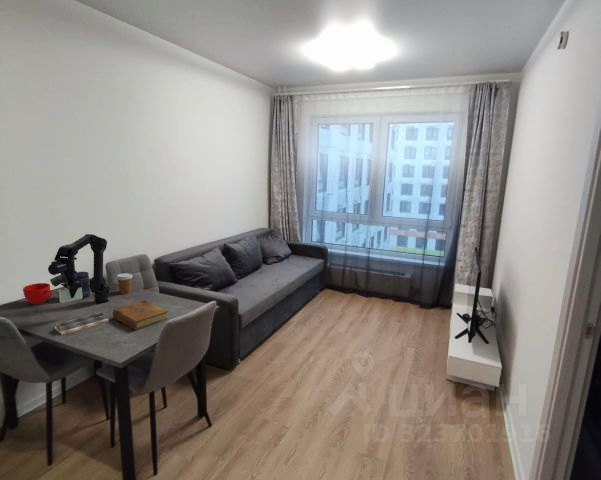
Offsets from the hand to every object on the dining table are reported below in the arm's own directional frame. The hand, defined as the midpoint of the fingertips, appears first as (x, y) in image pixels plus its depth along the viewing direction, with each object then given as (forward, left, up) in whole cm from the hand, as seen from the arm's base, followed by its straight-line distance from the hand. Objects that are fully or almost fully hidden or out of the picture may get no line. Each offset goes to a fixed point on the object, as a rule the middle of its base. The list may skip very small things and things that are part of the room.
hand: (71, 297), depth 191 cm
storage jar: (-15, -30, -12) cm, 36 cm away
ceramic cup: (+5, -35, -12) cm, 37 cm away
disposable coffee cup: (-37, -19, -12) cm, 44 cm away
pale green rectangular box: (0, 0, -2) cm, 2 cm away
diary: (-24, +27, -12) cm, 38 cm away
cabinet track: (0, +13, -12) cm, 18 cm away
